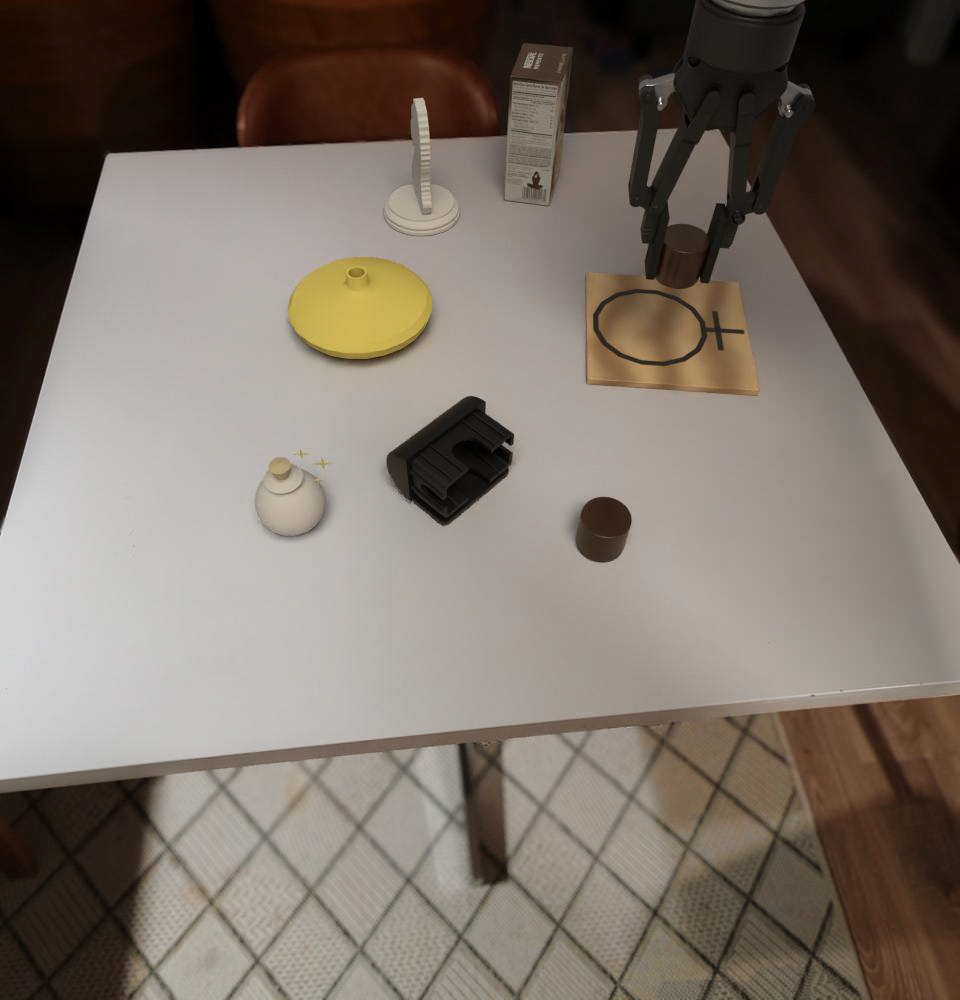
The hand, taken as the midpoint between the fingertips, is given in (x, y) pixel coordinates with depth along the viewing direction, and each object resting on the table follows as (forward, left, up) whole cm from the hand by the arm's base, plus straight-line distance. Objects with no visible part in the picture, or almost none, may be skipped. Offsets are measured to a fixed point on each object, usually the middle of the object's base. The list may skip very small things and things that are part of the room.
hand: (676, 271), depth 72 cm
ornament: (+33, +22, -13) cm, 42 cm away
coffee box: (+14, -35, -13) cm, 40 cm away
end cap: (+20, +16, -13) cm, 29 cm away
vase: (+32, -5, -13) cm, 35 cm away
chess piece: (+28, -27, -13) cm, 41 cm away
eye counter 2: (0, 0, 0) cm, 0 cm away
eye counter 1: (+6, +22, -13) cm, 27 cm away
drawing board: (-2, -7, -13) cm, 15 cm away
